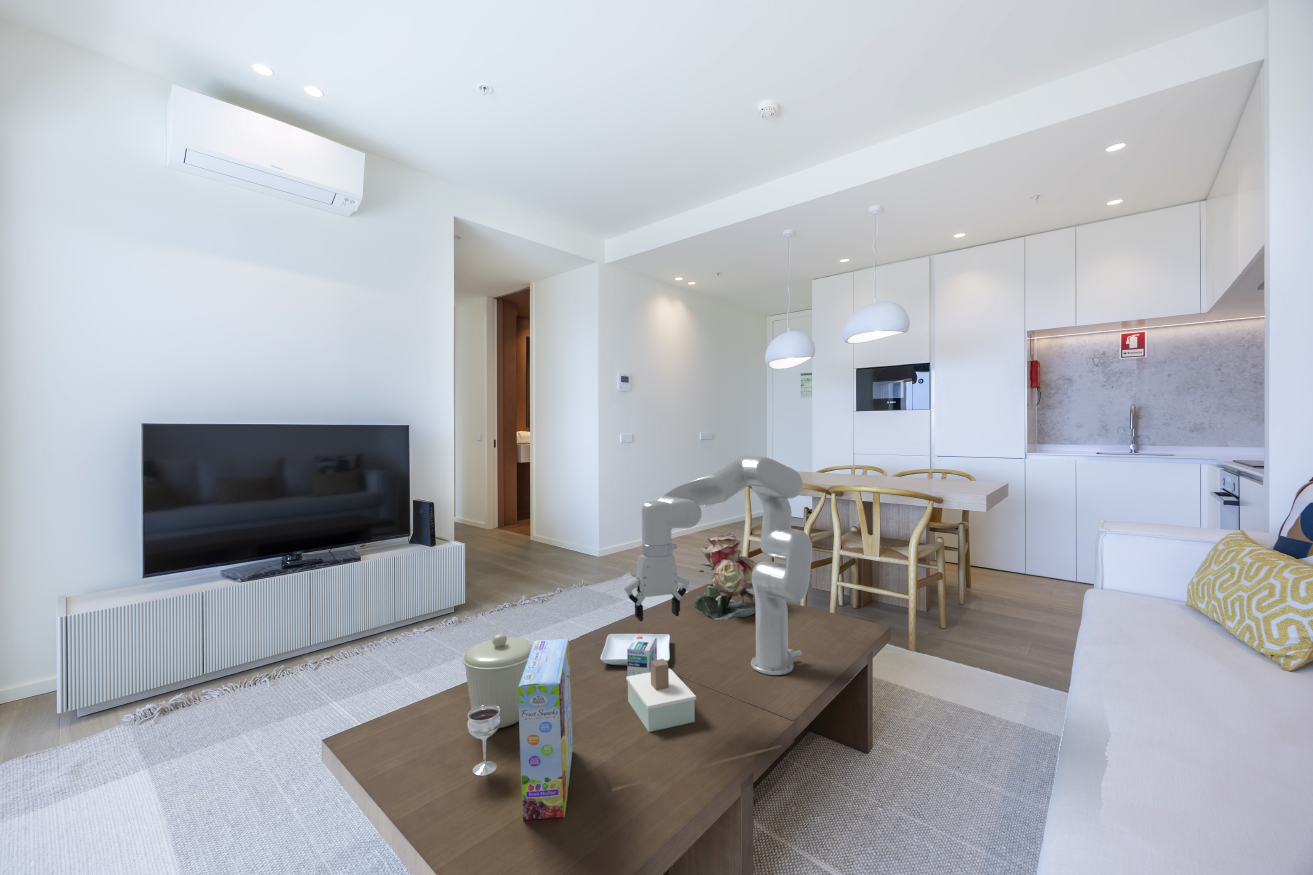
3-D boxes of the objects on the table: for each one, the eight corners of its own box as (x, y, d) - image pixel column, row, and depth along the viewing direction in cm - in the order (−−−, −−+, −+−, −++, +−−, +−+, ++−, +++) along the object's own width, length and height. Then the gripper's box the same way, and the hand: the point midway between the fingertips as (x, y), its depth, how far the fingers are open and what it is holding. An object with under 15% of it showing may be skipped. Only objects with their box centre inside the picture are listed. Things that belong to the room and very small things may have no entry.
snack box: (534, 752, 121) (533, 638, 120) (574, 750, 121) (572, 636, 121) (518, 822, 99) (515, 683, 99) (566, 819, 100) (563, 681, 100)
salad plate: (670, 642, 183) (670, 632, 183) (669, 670, 162) (669, 658, 162) (608, 642, 184) (607, 632, 184) (599, 670, 163) (599, 659, 163)
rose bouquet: (718, 625, 198) (717, 543, 198) (685, 601, 226) (684, 530, 225) (777, 615, 208) (776, 537, 207) (739, 594, 235) (738, 525, 234)
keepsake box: (628, 702, 143) (627, 679, 142) (670, 693, 147) (669, 671, 147) (648, 733, 128) (648, 708, 128) (694, 723, 132) (694, 698, 132)
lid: (626, 679, 143) (625, 653, 143) (670, 671, 147) (669, 646, 147) (647, 709, 127) (647, 680, 127) (696, 699, 132) (695, 671, 132)
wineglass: (462, 777, 112) (461, 720, 112) (475, 758, 119) (474, 704, 119) (494, 778, 112) (493, 721, 112) (505, 758, 119) (504, 704, 118)
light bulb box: (650, 689, 150) (649, 650, 150) (626, 687, 151) (626, 648, 151) (657, 672, 160) (657, 636, 160) (635, 670, 162) (635, 634, 161)
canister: (551, 705, 141) (549, 625, 141) (510, 743, 124) (509, 652, 124) (492, 695, 147) (491, 618, 147) (446, 730, 130) (445, 643, 130)
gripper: (682, 544, 143) (683, 608, 144) (620, 550, 137) (620, 616, 138) (694, 549, 136) (694, 617, 137) (628, 556, 130) (629, 626, 131)
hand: (657, 616), depth 137 cm, fingers open, 9 cm apart
